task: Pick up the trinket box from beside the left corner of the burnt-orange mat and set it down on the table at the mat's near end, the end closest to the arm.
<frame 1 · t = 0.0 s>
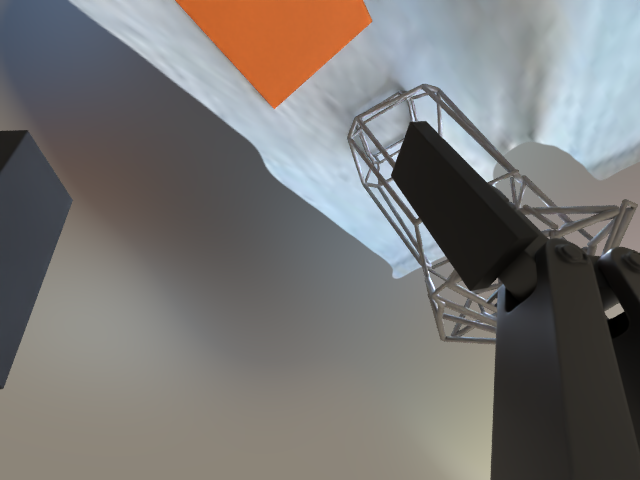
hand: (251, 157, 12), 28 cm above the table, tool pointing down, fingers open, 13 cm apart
geometric lantern: (384, 123, 45), on the table
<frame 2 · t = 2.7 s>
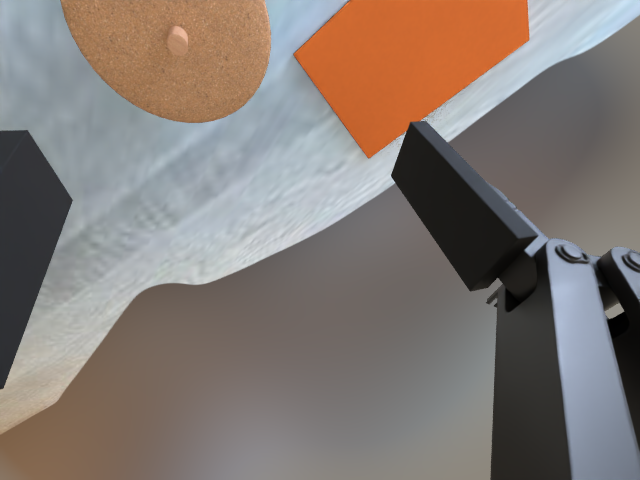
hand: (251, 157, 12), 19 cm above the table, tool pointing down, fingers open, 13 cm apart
trinket box: (180, 1, 22), on the table
mat: (419, 45, 29), on the table
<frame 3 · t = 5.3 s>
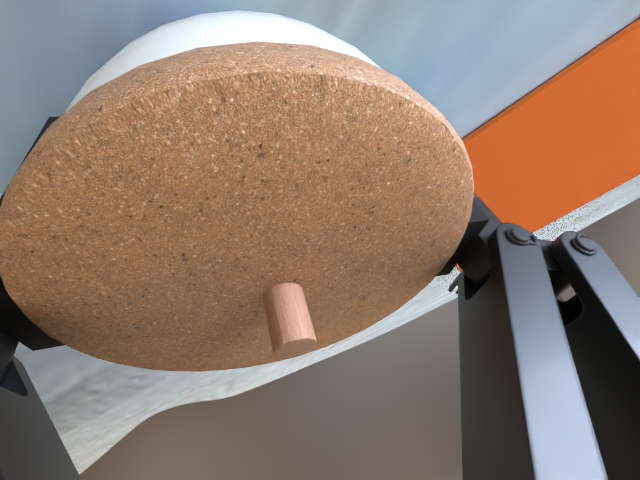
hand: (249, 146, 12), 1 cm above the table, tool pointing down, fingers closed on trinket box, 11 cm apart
trinket box: (246, 132, 13), on the table, touching gripper
mat: (574, 152, 20), on the table
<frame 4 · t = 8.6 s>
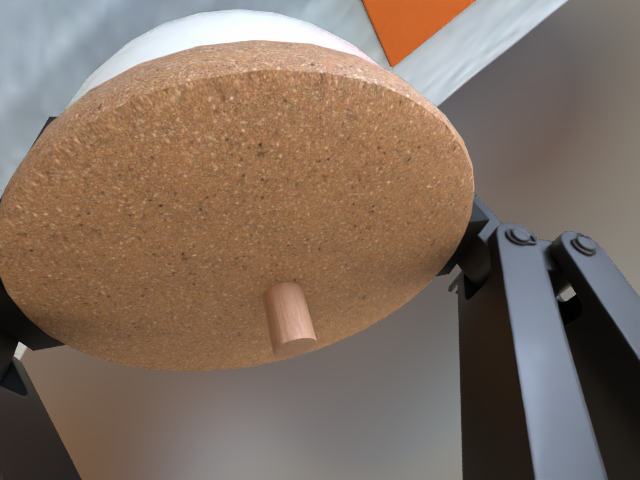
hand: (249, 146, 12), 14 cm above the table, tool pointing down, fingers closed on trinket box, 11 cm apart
trinket box: (246, 131, 13), point 13 cm above the table, touching gripper
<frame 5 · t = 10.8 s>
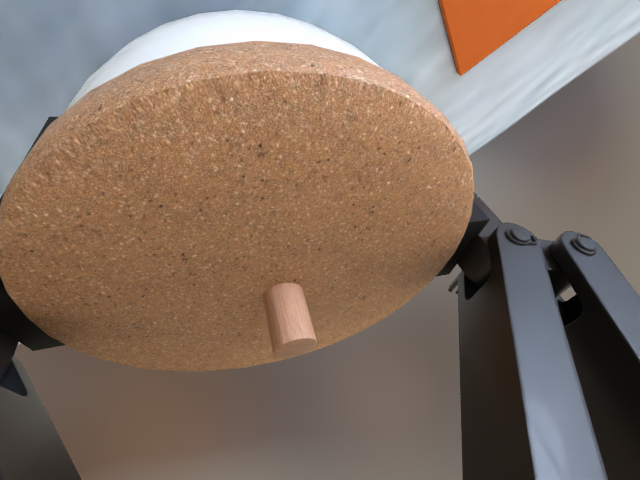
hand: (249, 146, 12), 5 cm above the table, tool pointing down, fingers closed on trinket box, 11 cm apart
trinket box: (246, 132, 13), point 4 cm above the table, touching gripper
when the fingers open (1 cm above the table, at t = 12.4 s): trinket box stays where it is, on the table.
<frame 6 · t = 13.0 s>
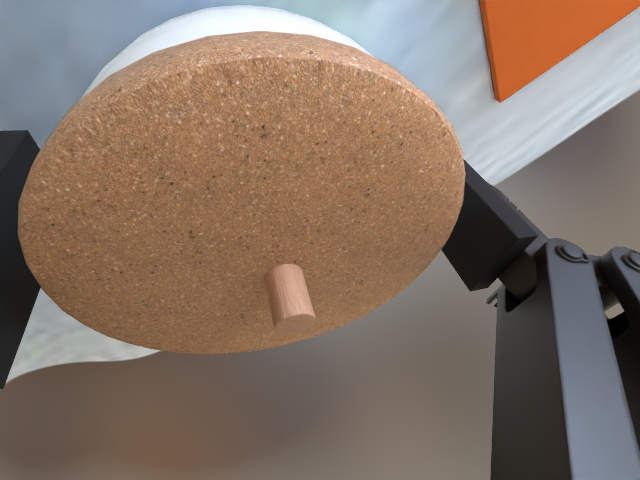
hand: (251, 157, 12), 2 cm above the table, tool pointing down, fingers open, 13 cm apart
trinket box: (248, 125, 13), on the table
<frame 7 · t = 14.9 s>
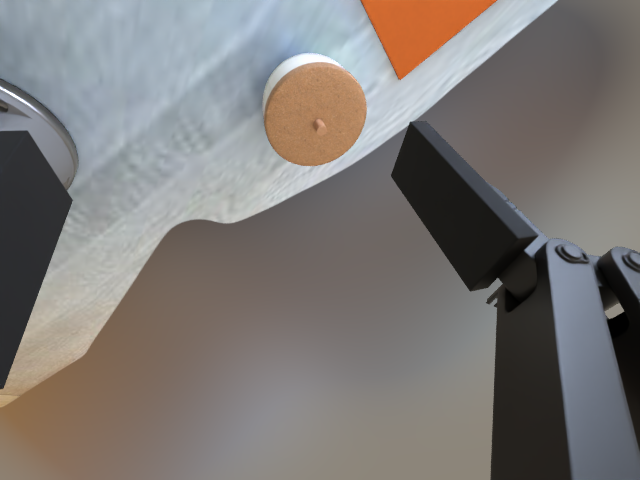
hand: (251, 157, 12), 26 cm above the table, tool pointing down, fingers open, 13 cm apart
trinket box: (300, 89, 36), on the table
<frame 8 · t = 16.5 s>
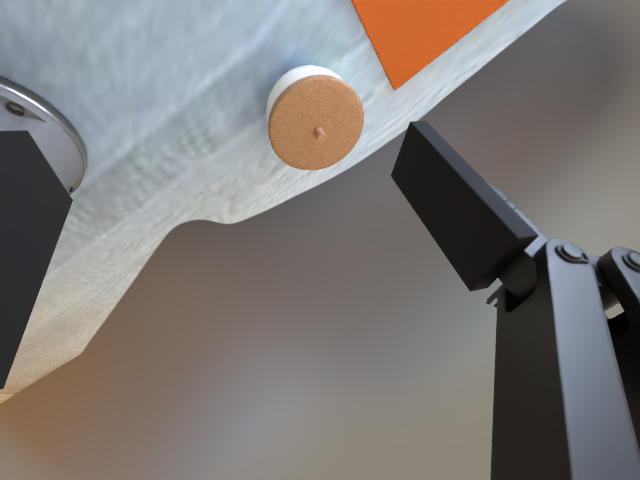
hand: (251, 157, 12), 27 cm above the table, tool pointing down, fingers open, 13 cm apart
trinket box: (301, 97, 38), on the table
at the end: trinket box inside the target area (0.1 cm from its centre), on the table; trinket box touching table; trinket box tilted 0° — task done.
